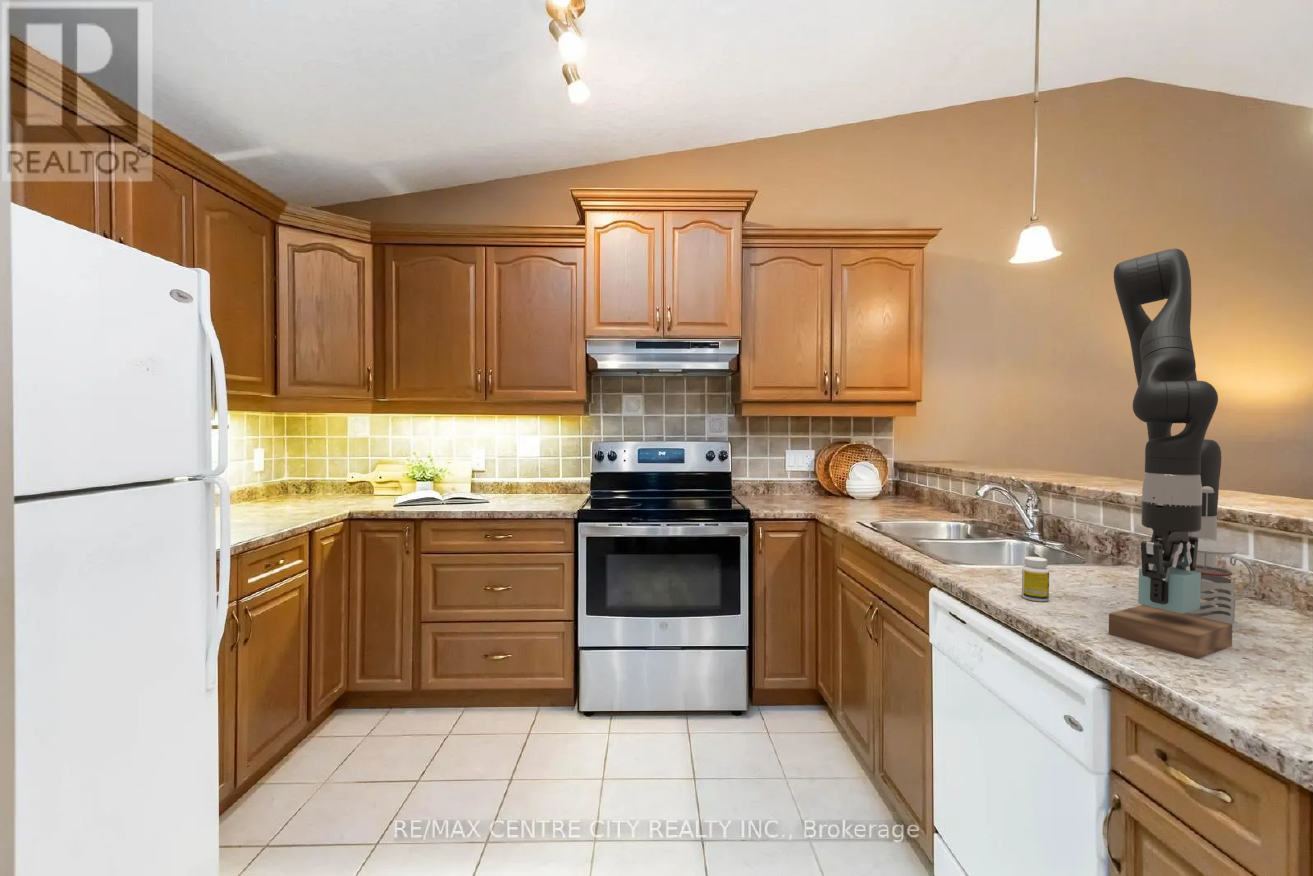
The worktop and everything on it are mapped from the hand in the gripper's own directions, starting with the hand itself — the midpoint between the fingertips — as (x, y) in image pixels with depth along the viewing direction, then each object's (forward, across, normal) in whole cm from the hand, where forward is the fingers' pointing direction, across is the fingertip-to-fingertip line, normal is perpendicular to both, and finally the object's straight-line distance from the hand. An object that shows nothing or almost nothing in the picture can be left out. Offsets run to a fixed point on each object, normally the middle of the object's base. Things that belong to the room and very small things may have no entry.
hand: (1168, 600), depth 98 cm
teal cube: (+1, 0, 0) cm, 1 cm away
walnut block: (+7, 0, 0) cm, 7 cm away
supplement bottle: (+7, -4, -24) cm, 25 cm away
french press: (+7, -18, -1) cm, 19 cm away
